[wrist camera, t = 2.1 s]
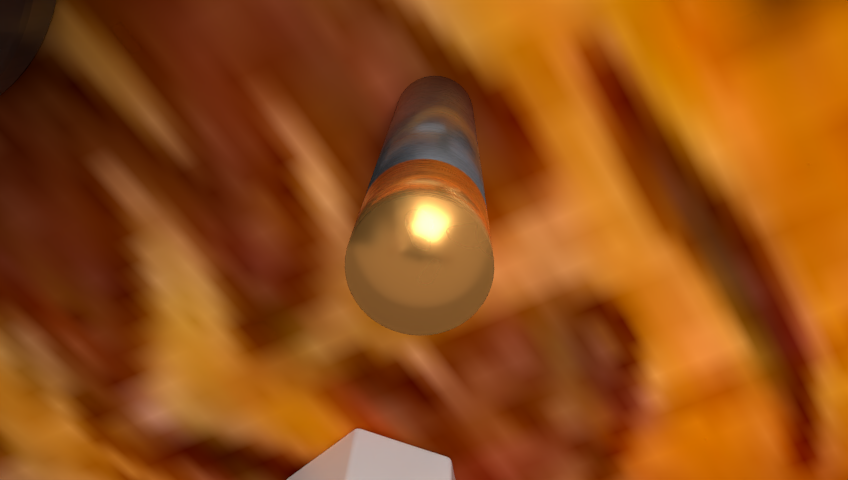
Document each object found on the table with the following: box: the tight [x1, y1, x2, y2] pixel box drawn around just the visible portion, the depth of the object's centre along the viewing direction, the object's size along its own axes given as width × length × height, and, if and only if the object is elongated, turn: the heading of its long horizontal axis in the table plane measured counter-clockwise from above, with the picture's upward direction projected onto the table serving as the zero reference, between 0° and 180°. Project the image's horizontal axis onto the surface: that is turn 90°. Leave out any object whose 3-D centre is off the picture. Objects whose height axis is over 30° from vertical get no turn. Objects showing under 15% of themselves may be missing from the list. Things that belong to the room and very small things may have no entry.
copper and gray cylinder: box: [345, 76, 494, 335], centre depth 23 cm, size 3×3×16 cm
